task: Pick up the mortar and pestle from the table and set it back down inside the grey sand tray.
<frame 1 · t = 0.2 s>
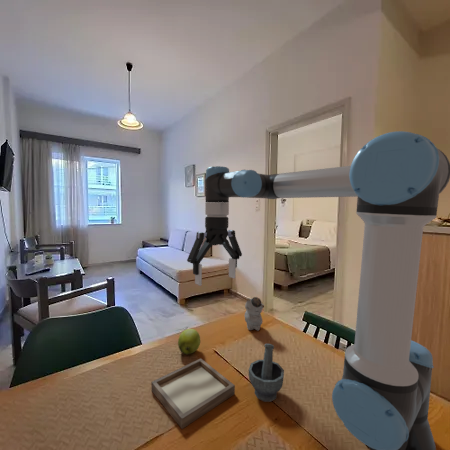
hand: (215, 280, 83), 27 cm above the table, fingers open, 13 cm apart
figurine: (254, 330, 107), on the table
apple: (189, 352, 90), on the table
mortar and pestle: (265, 392, 72), on the table
grey sand tray: (192, 392, 71), on the table
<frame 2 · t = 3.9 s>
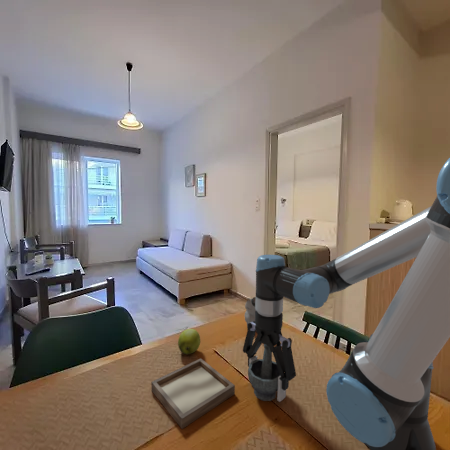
hand: (266, 388, 71), 1 cm above the table, fingers closed on mortar and pestle, 10 cm apart
mortar and pestle: (265, 391, 72), on the table, touching gripper
everything else where it was.
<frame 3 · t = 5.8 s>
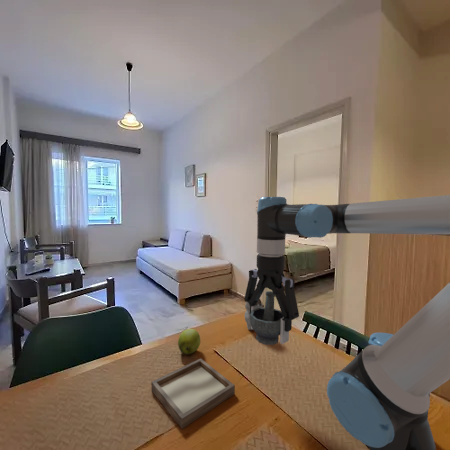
hand: (268, 334, 70), 17 cm above the table, fingers closed on mortar and pestle, 10 cm apart
mortar and pestle: (267, 338, 70), point 16 cm above the table, touching gripper
everything else where it was.
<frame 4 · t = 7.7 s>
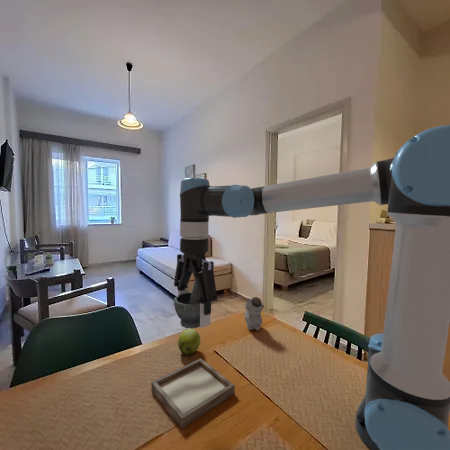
hand: (193, 318, 69), 21 cm above the table, fingers closed on mortar and pestle, 10 cm apart
mortar and pestle: (193, 322, 69), point 20 cm above the table, touching gripper
everything else where it was.
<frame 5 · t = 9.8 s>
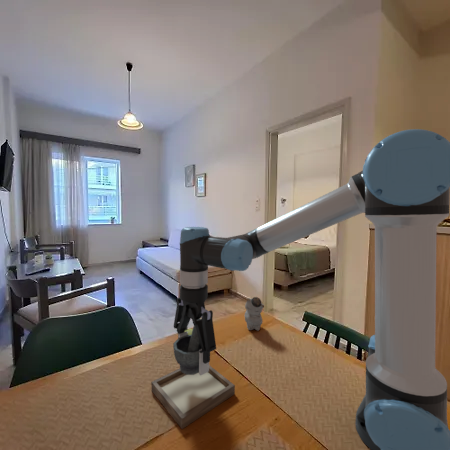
hand: (192, 363, 70), 9 cm above the table, fingers closed on mortar and pestle, 10 cm apart
mortar and pestle: (192, 366, 70), point 7 cm above the table, touching gripper
everything else where it was.
when the fingers open (5 cm above the table, at t = 11.6 s): mortar and pestle drops 2 cm, resting on grey sand tray.
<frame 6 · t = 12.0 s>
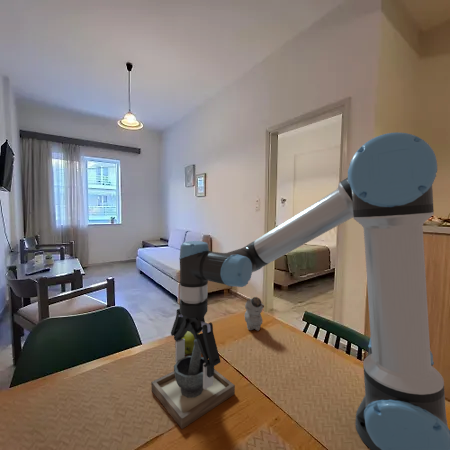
hand: (193, 373, 70), 6 cm above the table, fingers open, 13 cm apart
mortar and pestle: (192, 388, 71), point 1 cm above the table, touching grey sand tray
everything else where it was.
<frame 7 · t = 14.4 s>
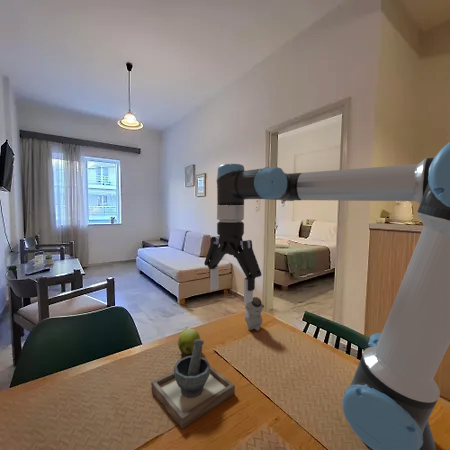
hand: (230, 295, 72), 27 cm above the table, fingers open, 13 cm apart
nothing on the table moved.
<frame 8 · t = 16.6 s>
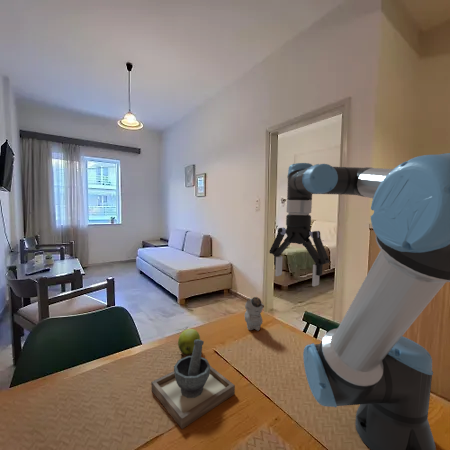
hand: (295, 280, 81), 29 cm above the table, fingers open, 13 cm apart
nothing on the table moved.
at the end: mortar and pestle inside the target area on the grey sand tray (0.0 cm from its centre), point 1.1 cm above the grey sand tray's base; mortar and pestle tilted 0°; the gripper is holding nothing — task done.
